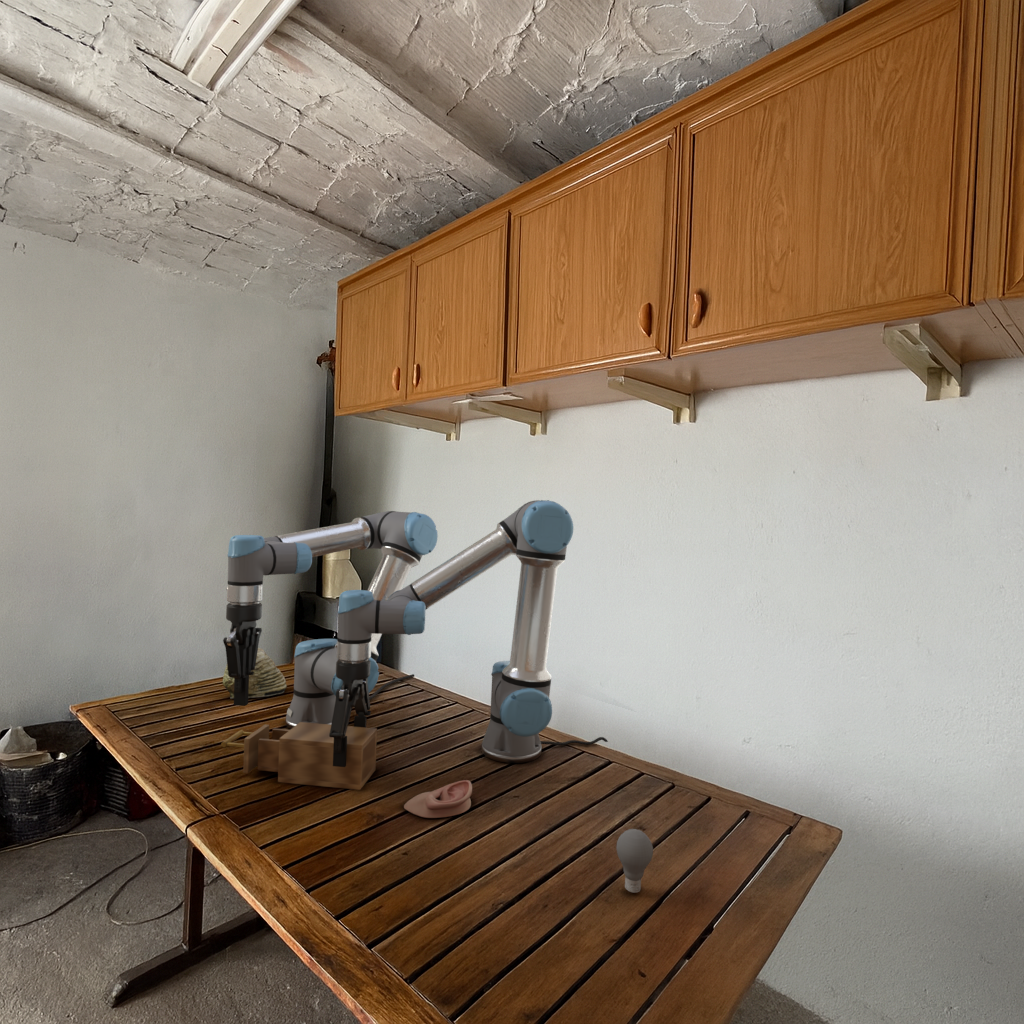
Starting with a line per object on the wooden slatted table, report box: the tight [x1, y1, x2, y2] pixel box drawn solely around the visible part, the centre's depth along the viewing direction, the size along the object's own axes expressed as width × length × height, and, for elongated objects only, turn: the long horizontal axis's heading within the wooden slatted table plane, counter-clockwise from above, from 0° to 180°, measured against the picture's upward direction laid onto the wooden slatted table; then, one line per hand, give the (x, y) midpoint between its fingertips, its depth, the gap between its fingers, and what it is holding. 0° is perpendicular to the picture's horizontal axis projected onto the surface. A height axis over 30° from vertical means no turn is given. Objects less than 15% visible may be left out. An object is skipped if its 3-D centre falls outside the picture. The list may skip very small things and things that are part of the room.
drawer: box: [220, 724, 290, 774], centre depth 145 cm, size 23×9×8 cm, turn 84°
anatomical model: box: [403, 779, 473, 819], centre depth 132 cm, size 13×4×12 cm
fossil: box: [222, 647, 288, 699], centre depth 198 cm, size 9×18×15 cm, turn 132°
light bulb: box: [615, 828, 654, 894], centre depth 106 cm, size 6×6×10 cm
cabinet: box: [277, 722, 378, 791], centre depth 144 cm, size 19×10×10 cm, turn 84°
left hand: (240, 704), depth 146 cm, fingers closed
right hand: (349, 754), depth 143 cm, fingers open, 12 cm apart
